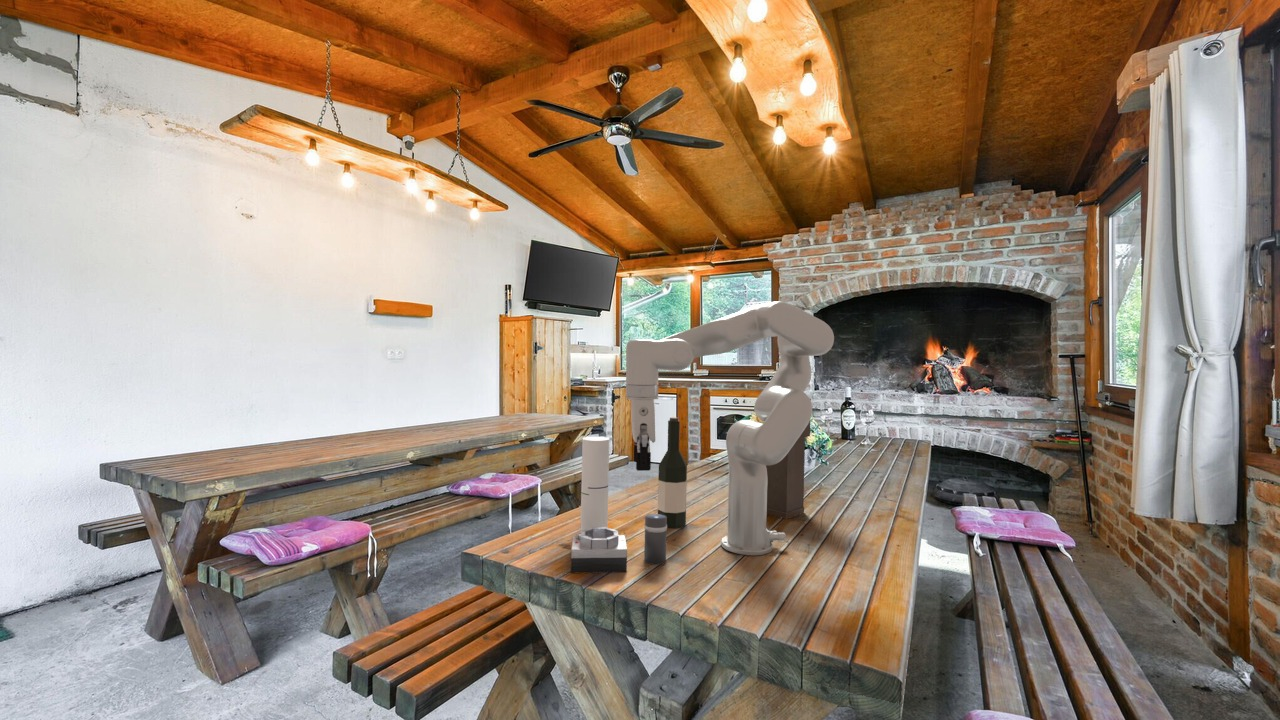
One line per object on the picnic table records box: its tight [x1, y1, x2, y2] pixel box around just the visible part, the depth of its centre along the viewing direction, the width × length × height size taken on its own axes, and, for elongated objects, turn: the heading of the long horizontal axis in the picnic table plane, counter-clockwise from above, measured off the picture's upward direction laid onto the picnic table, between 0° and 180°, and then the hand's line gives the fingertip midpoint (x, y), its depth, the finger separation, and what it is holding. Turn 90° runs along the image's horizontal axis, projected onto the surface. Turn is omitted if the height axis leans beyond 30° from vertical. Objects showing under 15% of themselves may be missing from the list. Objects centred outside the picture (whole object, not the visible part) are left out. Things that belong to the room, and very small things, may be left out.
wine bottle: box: [657, 416, 688, 529], centre depth 150 cm, size 8×8×30 cm
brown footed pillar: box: [766, 398, 812, 520], centre depth 168 cm, size 19×14×35 cm
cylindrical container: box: [580, 436, 610, 532], centre depth 141 cm, size 7×7×25 cm
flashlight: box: [643, 513, 668, 566], centre depth 122 cm, size 5×5×10 cm
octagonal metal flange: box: [570, 527, 628, 573], centre depth 119 cm, size 12×9×7 cm
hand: (641, 465), depth 123 cm, fingers open, 9 cm apart
